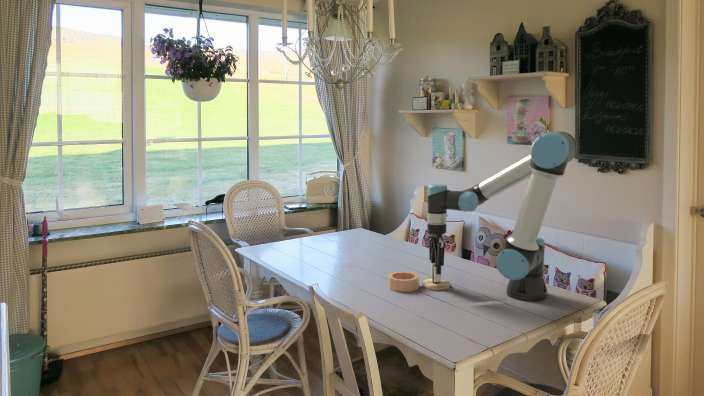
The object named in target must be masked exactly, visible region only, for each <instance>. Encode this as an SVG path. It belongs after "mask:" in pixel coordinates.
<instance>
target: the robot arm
mask: <svg viewBox="0 0 704 396" xmlns="http://www.w3.org/2000/svg"><path fill="white" fill-rule="evenodd" d="M577 152H578V142H577V140H576V138H575V137H574V135H572V134H571V133H568V132H566V131H549V132H544V133H542V134H541V135H539V136H538V137H536V138H535V140H533V142H532V144H531V147H530V154H527V155H526V156H525V157H522V158H520V159H519V160H518V161H515V162H514V163H512V164H510V165H509V166H507V167H505V168H503V169H501V170H499V171H498V172H496V173H495V174H493V175H491V176H490V177H488V178H485V179H483V180H482V181H481V182H479V183H477V184H475V185H473V186H471V187H470V188H466V189H462V190H450V189H448V186H447V184H443V183H433V184H429V185H428V188H427V195H426V196H427V214H426V216H427V217H426V218H427V219H426V222H427V224H426V226H427V227H426V231H427V234H430V235H429V236H428V250H429V251H428V255H429V256H428V258H429V261H430V263H431V264H430V265H431V267H430V268H431V269H430V270H431V271H430V273H431V274H430V275H431V276H430V279H432V273H433V263H435V265H434V282H441V279H442V267H444V266H445V265H444V264H445V248H446V242H444V239H443V235H444V234H446V233H447V224H446V223H447V217H448V214H447V212H448V210H451V211H459V212H464V213H465V212H474V211H476V209H477V208H478V206H480V205H481V206H482V205H483V204H484V203H486V202H487V201H489V200H490V199H492V198H494V197H496V196H498V195H500V194H501V193H504V192H505V191H507V190H509V189H511V188H512V187H514V186H516V185H518V184H520V183H522V182H524V181H526V180H527V179H528V184H527V186H526V189H525V193H524V196H523V199H522V202H521V205H520V209H519V211H518V215H517V218H516V221H515V224H514V226H513V230H512V233H511V234H510V235H508V236H507V237H506V238H505V242H504V244H503V248H502V250H501V251H499V252H498V254H497V256H496V258H495V266H496V269H497V270H498V272H499V274H500V275H502V276H503V277H504V278H505V279H508V280H509V281H508V283H507V285H506V292H505V293H506V295H507V296H509V297H510V298H513V299H515V300H520V301H527V302H531V301H532V302H533V301H534V302H535V301H536V302H537V301H543V300H545V299H547V298H548V288H547V285H546V281H545V279H544V270H545V269H544V268H545V249H546V246H545V244H546V243H545V240H544V238H542V237H539V234H540V231H541V228H542V226H543V222H544V219H545V216H546V213H547V209H548V207H549V204H550V201H551V198H552V195H553V192H554V190H555V186H556V184H557V181H558V179H560V178H561V177H564V174H565V171H566V168H567V165H568V163H569V162H571V161H572V160H573V159H574V158H575V157H576V155H577Z"/></svg>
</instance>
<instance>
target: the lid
mask: <svg viewBox="0 0 704 396" xmlns="http://www.w3.org/2000/svg"><path fill="white" fill-rule="evenodd" d="M434 265H435V263H433V273H432V279H431V278H429V279H424V280H423V281H422V282H421V283H422V285H421V286H422V288H424V289H426V288H427V289H431V290H436V291H445V290H444V289H448V288H449V287H450V288H451V282H449V281H448V280H447V279H442V278H441V282H434ZM427 289H426V290H427Z"/></svg>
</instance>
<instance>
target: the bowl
mask: <svg viewBox="0 0 704 396" xmlns="http://www.w3.org/2000/svg"><path fill="white" fill-rule="evenodd" d="M387 287H388V288H389V290H392V291H395V292H401V293H402V292H403V293H404V292H414V291H417V290H418V289H419V288H420V276H419V274H418V273H415V272H411V271H395V272H391V273H389V274H388V275H387Z"/></svg>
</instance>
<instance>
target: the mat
mask: <svg viewBox="0 0 704 396" xmlns="http://www.w3.org/2000/svg"><path fill="white" fill-rule="evenodd" d="M419 285H421V286H422V282H419ZM425 290H427V292H433V291H437V290H431V289H427V288H425ZM447 290H449V291H450V290H452V288H451V286H450V287H449V288H448V289H444V290H443V291H447Z"/></svg>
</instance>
